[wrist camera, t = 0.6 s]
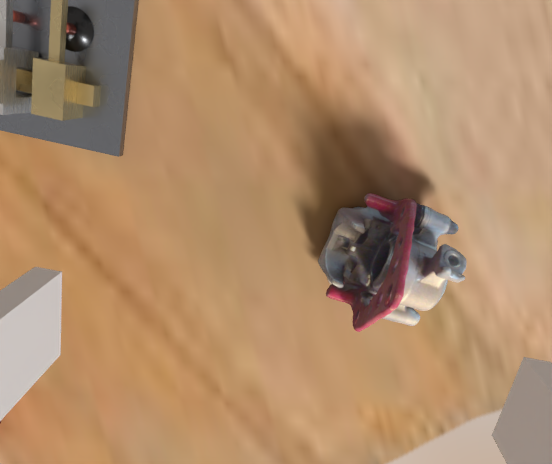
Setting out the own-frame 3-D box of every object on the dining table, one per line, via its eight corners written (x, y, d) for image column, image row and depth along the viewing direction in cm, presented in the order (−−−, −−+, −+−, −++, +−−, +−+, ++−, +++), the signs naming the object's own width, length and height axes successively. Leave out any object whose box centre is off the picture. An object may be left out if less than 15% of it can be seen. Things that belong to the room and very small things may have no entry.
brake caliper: (323, 164, 35) (447, 231, 26) (410, 182, 42) (531, 240, 33) (278, 289, 39) (374, 384, 30) (364, 287, 45) (463, 365, 37)
